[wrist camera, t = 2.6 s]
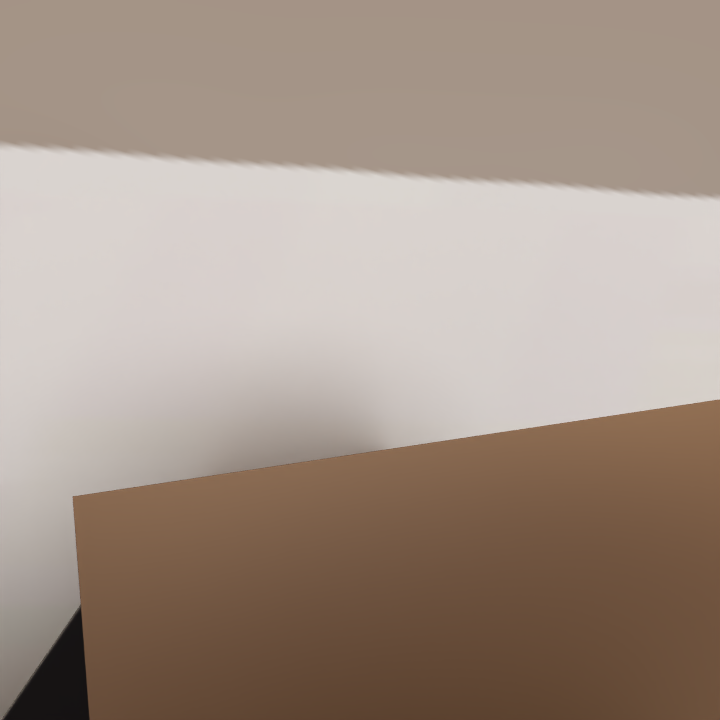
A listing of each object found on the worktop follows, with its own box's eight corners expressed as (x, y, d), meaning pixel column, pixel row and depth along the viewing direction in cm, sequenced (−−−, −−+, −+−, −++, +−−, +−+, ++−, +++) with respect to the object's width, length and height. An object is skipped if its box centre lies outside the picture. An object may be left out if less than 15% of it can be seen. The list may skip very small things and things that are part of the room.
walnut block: (423, 653, 16) (901, 1115, 4) (222, 697, 15) (144, 1452, 3) (392, 455, 17) (725, 398, 5) (199, 484, 16) (72, 495, 4)
